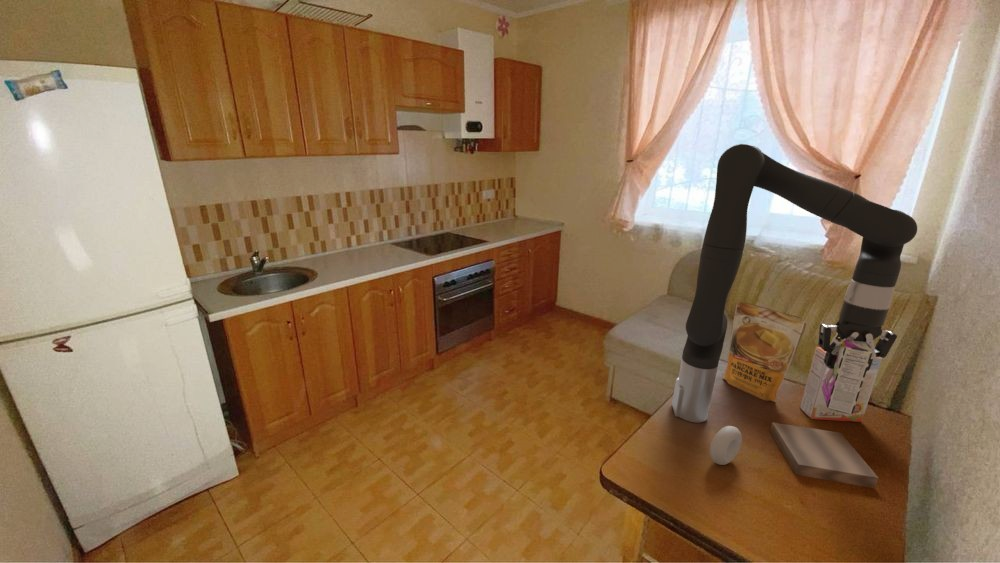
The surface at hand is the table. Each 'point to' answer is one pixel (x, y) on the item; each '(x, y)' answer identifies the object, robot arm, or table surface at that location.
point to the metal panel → (822, 455)
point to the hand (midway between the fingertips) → (845, 368)
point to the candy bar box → (846, 376)
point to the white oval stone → (725, 445)
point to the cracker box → (814, 395)
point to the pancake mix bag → (761, 349)
